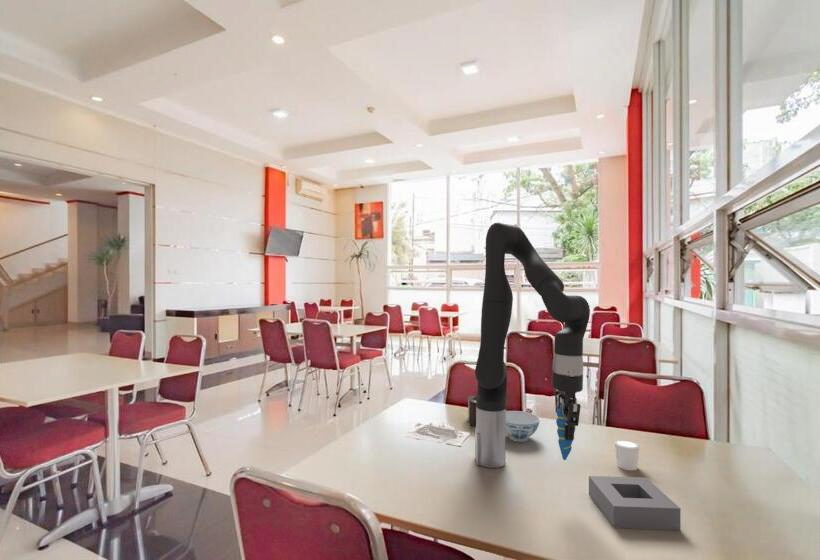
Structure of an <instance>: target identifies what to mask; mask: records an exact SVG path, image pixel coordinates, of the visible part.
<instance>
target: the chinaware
mask: <svg viewBox="0 0 820 560" xmlns="http://www.w3.org/2000/svg"><path fill="white" fill-rule="evenodd" d="M540 421H541V419H540V417H539V416H538V415H536V414H535V413H534V414H533V413H531V412H527V411H521V410H506V436H508V438H509V440H511V441H513V442H520V443H521V442H526V441H528V440H529V438H530V437H532V436H533V435H534V434H535V433H536V432H537V430H538V428H539V425H540Z"/></svg>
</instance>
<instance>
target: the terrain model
mask: <svg viewBox="0 0 820 560" xmlns="http://www.w3.org/2000/svg"><path fill="white" fill-rule="evenodd" d="M470 435H471V433H470V432H467V431H461V430H458V429H457V428H456V427H455V426H451V425H448V424H445V423H437V422H436V423H434V422H433V423H432V422H429V424H424V423H422V422H417V423H416V424H415V425H414V427H413V428H412V429H410V430H409V431H408V432H406V433H405V434H404V437H407V438H412V439H416V440H421V441H429V442H434V443H440V444H442V443H444V444H445V445H450V446H455V447H462V444H463V443H464V442H465V441H466V440H467V439H468V438H469V437H470Z"/></svg>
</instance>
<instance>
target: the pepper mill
mask: <svg viewBox="0 0 820 560" xmlns="http://www.w3.org/2000/svg"><path fill="white" fill-rule="evenodd" d="M476 398H477V394H476V395H469V396H468V397H467V400H468V401H467V407H468V411H467V412H468V413H467V414H468V418H467V419H468V424H469V426H470V427H476Z"/></svg>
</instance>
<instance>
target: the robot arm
mask: <svg viewBox="0 0 820 560" xmlns="http://www.w3.org/2000/svg"><path fill="white" fill-rule="evenodd" d="M506 255H511V256H513V257H514V258H515V259H516V260H517V261H519V262H520V264H521V265H522V267H523V269H524V275H525V277H526V280H527V281H528V283H529V284H530V285H531V287H532V288H533V289H534V290H535V291H536V292H537V294H538V295H539V296H540V297H541V300H542V302H543V304H544V307H545V308H546V311H547V313H548V314H549V315H550V316H551V318H553V319H554V320H555V321H557V322H559V323H564V325H563V328H562V329H561V330H559V331H557V332H556V333H555V336H554V340H553V341H554V342H553V344H554V345H553V346H554V347H553V348H554V349H553V352H554V353H553V357H552V358H553V359H552V375H551V376H552V378H551V380H552V381H551V386H552V389H554V390H555V391H554V398H555V399H554V401H555V404H554V405H555V413H556V414H557V410H558V409H559V408H562V415H563V416H564V420H565V433H564V438H565V439H566V440H573V441H574V440H575V432H574V426H575V427H578V426H579V422H580V416H581V415H580V414H581V413H580V412H581V404H580V403H578V399H577V397H576V396H577V395H576V394H577V393H580V392H582V391H583V389H584V387H583V386H584V358H583V357H584V355H583V354H584V351H583V350H584V337H585V334H586V332H587V328H588V324H589V322H590V321H589V320H590V315H591V309H590V305H589V302H588V301H587V299H586V298H585V297H583V296H580V295H573V294H572V295H571V294H570V295H566V294H565V293H564V292H563V291H564V290H565V284H564V282H563V281H562V279H561V278H560V276H558V274H556V273H555V272H554V270H552V269H551V268H550V267H549V265H548V264H547V263H546V262H545V260H543V259H542V257H541V256H540V254H539V253H538V252H537V250H536V249H535V248H534V246H533V245H532V242H531V241H530V240H529V237H527V235H526V233H525V232H524V230H522V229H521V228H520V227H519V226H517V225H513V224H509V223H504V222H503V223H502V222H494V223H492V224H491V225H490V226H489V227H488V230H487V231H486V236H485V271H484V288H483V294H482V302H481V304H482V305H481V318H480V346H479V348H478V349H479V351H478V356H477V360H476V363H475V364H476V366H475V369H474V375H475V379H476V381H477V393H476V395H477V398H476V426H475V428H474V429H475V430H474V458H475V463H476V466H481V467H486V468H490V469H491V468H492V469H496V468H497V469H498V468H503V467H504V466H505V465H506V459H507V458H506V457H507V455H506V449H507V447H506V443H507V442H506V439H507V438H506V437H507V434H506V411H507V409H506V407H507V404H506V403H507V395H508V394H507V393H508V392H507V390H508V369H507V365H506V363H505V360H504V359H505V355H504V354H505V345H506V344H505V343H506V340H507V336H508V332H509V328H510V323H511V318H512V314H513V313H512V312H513V301H514V295H513V290H512V288H511V284H510V282H509V280H508V277H507V275H506V269H505V262H506V261H505V259H506ZM566 411H568V413H567V412H566ZM571 418H572V421H571Z"/></svg>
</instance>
